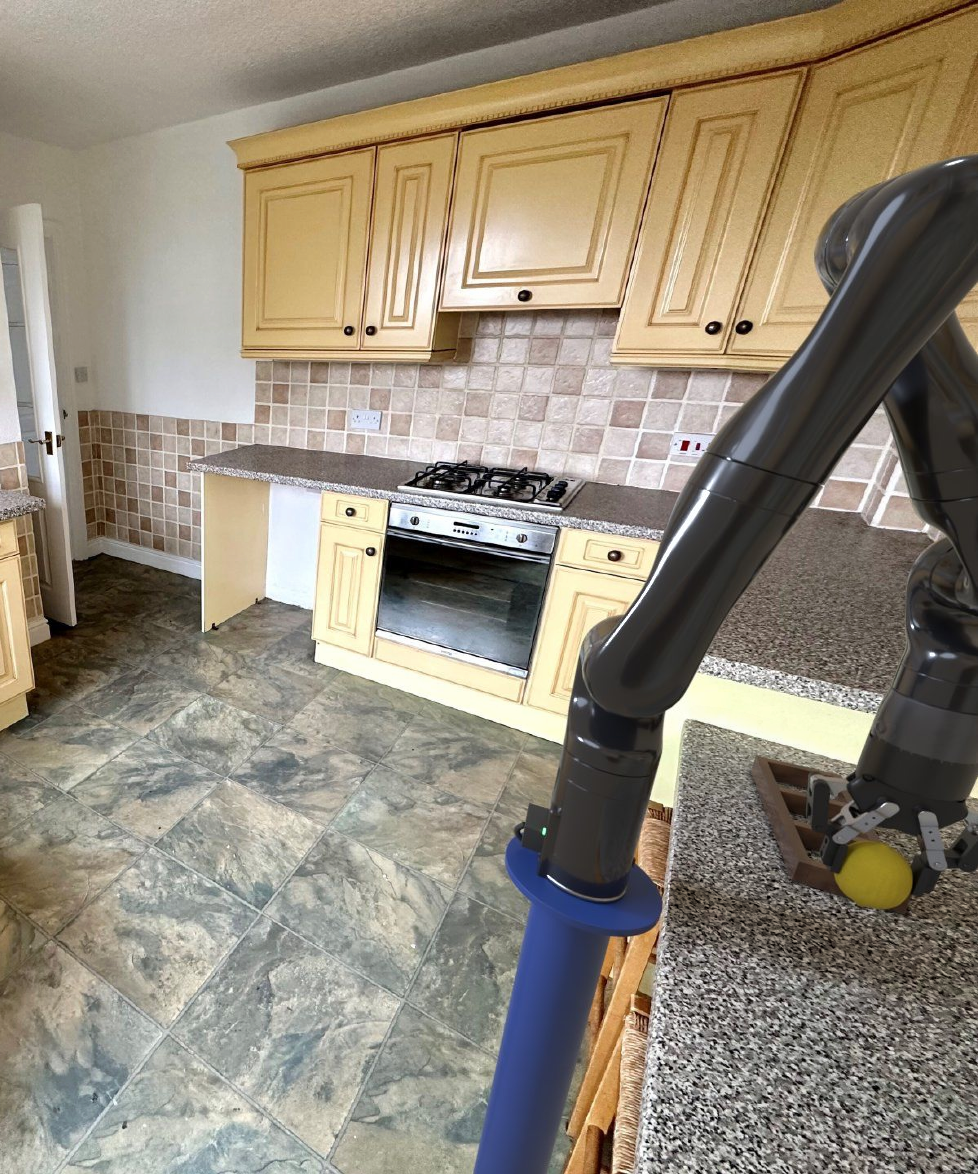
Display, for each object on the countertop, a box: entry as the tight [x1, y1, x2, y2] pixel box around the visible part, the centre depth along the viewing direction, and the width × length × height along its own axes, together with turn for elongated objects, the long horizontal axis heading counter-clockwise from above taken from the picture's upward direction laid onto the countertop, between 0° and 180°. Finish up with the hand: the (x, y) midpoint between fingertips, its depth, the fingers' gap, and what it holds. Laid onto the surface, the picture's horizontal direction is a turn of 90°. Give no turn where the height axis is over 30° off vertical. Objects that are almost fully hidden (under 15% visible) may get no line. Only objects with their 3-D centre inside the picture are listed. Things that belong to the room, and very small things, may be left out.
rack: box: [750, 754, 913, 915], centre depth 86 cm, size 10×27×3 cm, turn 148°
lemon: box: [834, 841, 913, 910], centre depth 66 cm, size 6×6×8 cm
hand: (870, 878), depth 66 cm, fingers closed on lemon, 5 cm apart
